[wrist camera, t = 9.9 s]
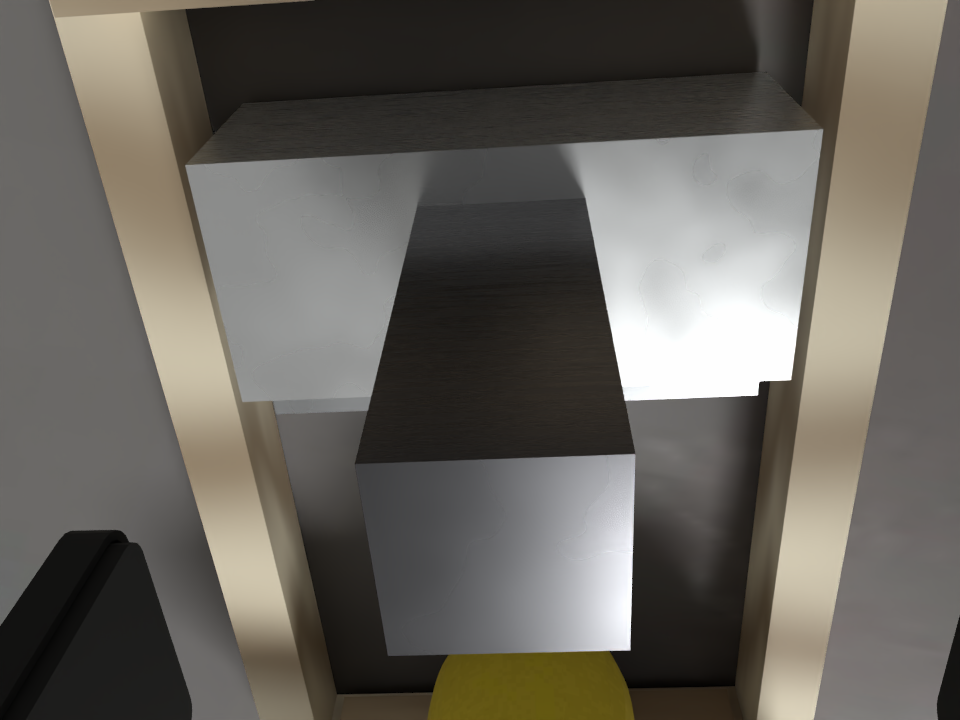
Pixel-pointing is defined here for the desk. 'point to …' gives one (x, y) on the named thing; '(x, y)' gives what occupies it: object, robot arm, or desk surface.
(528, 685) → the lemon
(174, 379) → the press frame
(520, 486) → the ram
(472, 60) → the desk surface
